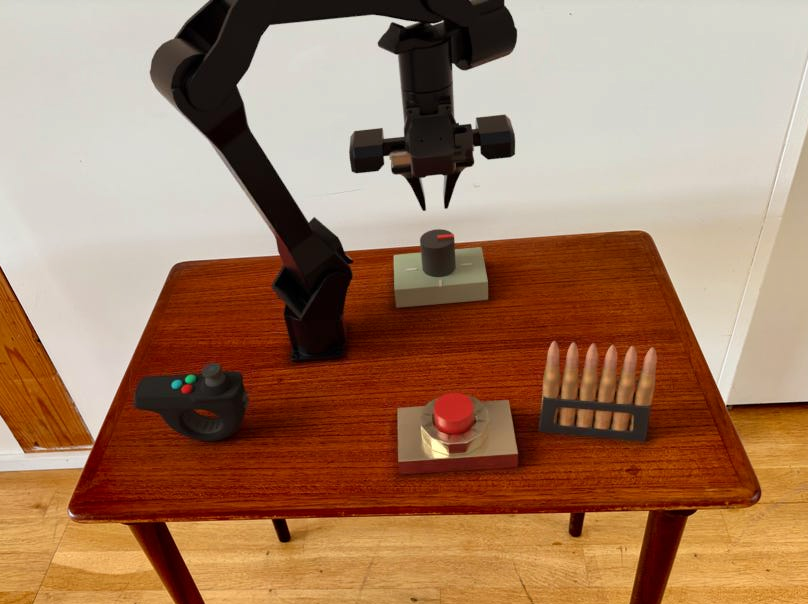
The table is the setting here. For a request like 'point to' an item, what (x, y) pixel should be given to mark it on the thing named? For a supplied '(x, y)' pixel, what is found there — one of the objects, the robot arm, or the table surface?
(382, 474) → the table surface
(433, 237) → the dial
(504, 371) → the table surface
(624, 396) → the ammunition clip
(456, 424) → the press knob
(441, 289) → the dial panel
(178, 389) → the controller
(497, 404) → the button housing
